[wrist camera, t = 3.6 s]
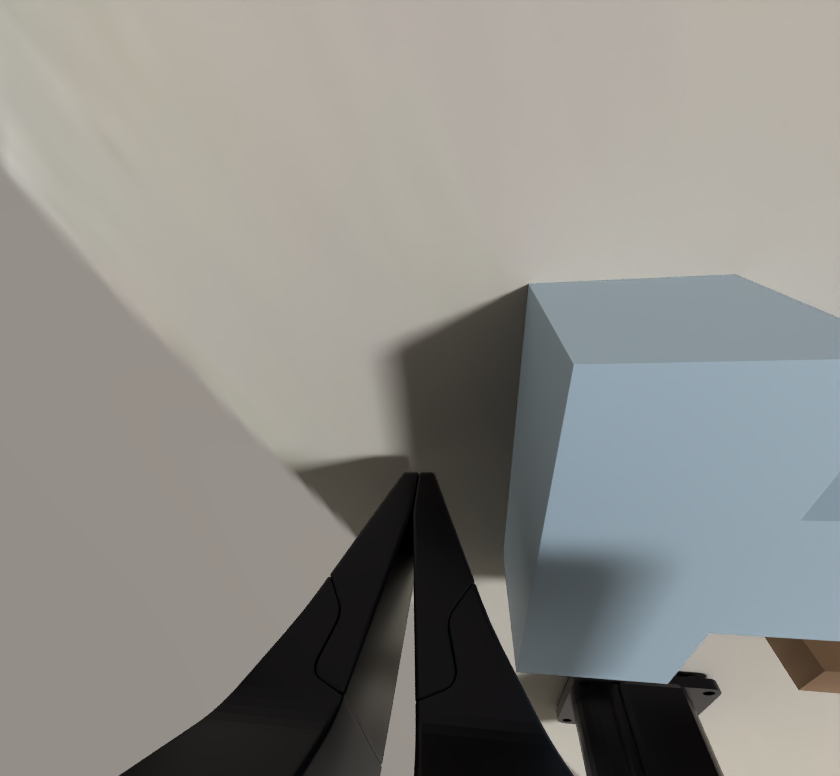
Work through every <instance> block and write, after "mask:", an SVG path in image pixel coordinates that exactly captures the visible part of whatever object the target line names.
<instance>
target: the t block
mask: <svg viewBox="0 0 840 776" xmlns="http://www.w3.org/2000/svg"><path fill="white" fill-rule="evenodd" d="M503 559H504V568H505V577H506V586H507V595H508V603H509V612H510V621H511V630H512V639H513V647H514V656H515V665H516V672H521V673H533V674H546V675H559V676H572V677H584V678H597V679H610V680H623V681H635V682H648V683H661V684H668V683H669V682H670V681H671V679H672V678H673V677H674V676H675V674H676V673H677V672H678V671H679V670H680V668H681V667H682V666H683V665H684V663H685V662H686V661H687V660H688V658H689V657H690V656H691V655H692V654H693V652H694V651H695V650H696V649H697V647H698V646H699V645H700V644H701V642H702V641H703V640H704V639H705V638H706V636H707V635H708V634H709V633H713V634H729V635H745V636H761V637H777V638H793V639H810V640H826V641H840V318H838V317H836V316H833V315H831V314H829V313H826V312H824V311H822V310H819V309H817V308H814V307H812V306H810V305H807V304H805V303H803V302H800V301H798V300H795V299H793V298H791V297H788V296H786V295H784V294H781V293H779V292H776V291H774V290H772V289H769V288H767V287H765V286H762V285H760V284H757V283H755V282H753V281H750V280H748V279H746V278H743V277H741V276H739V275H736V274H731V275H709V276H688V277H666V278H644V279H623V280H601V281H579V282H557V283H536V284H529V286H528V297H527V307H526V318H525V328H524V339H523V350H522V360H521V371H520V382H519V392H518V403H517V413H516V424H515V435H514V445H513V456H512V467H511V477H510V488H509V498H508V509H507V520H506V530H505V541H504V552H503Z"/></svg>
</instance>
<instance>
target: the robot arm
mask: <svg viewBox="0 0 840 776" xmlns="http://www.w3.org/2000/svg"><path fill="white" fill-rule="evenodd" d="M413 584H414V633H415V697H416V698H415V700H416V743H415V745H416V746H415V768H414V776H574V775H573V773H572V772H571V771H570V769H569V768H568V766H567V765H566V763H565V762H564V761H563V759H562V758H561V756H560V755H559V753H558V751H557V750H556V748H555V746H554V745H553V743H552V741H551V740H550V738H549V736H548V735H547V733H546V731H545V729H544V727H543V726H542V724H541V722H540V720H539V718H538V716H537V715H536V713H535V711H534V709H533V707H532V705H531V703H530V701H529V699H528V697H527V695H526V693H525V691H524V689H523V687H522V685H521V683H520V681H519V679H518V677H517V676H516V674H515V672H514V670H513V668H512V666H511V664H510V662H509V660H508V658H507V656H506V654H505V652H504V650H503V648H502V646H501V644H500V642H499V640H498V638H497V635H496V633H495V631H494V629H493V627H492V625H491V623H490V620H489V618H488V615H487V613H486V610H485V608H484V605H483V603H482V600H481V598H480V595H479V592H478V590H477V587H476V585H475V584H474V579H473V576H472V574H471V571H470V568H469V566H468V563H467V560H466V557H465V555H464V552H463V549H462V547H461V544H460V541H459V538H458V536H457V533H456V530H455V528H454V525H453V522H452V519H451V517H450V514H449V511H448V509H447V506H446V503H445V500H444V498H443V495H442V492H441V490H440V487H439V484H438V481H437V479H436V476H435V474H434V473H433V472H421V473H420V474H419V473H417V472H405V473H403V474H402V476H401V477H400V478H399V480H398V481H397V483H396V484H395V485H394V487H393V488H392V490H391V491H390V492H389V494H388V495H387V496H386V498H385V499H384V501H383V502H382V503H381V505H380V506H379V508H378V509H377V510H376V512H375V513H374V515H373V516H372V517H371V519H370V520H369V521H368V523H367V524H366V526H365V527H364V528H363V530H362V531H361V533H360V534H359V535H358V537H357V538H356V540H355V541H354V542H353V544H352V545H351V547H350V548H349V549H348V551H347V552H346V554H345V555H344V556H343V558H342V559H341V560H340V562H339V563H338V565H337V566H336V567H335V569H334V570H333V572H332V573H331V577H328V578H327V580H326V581H325V583H324V584H323V585H322V586H321V588H320V589H319V591H318V592H317V593H316V595H315V596H314V597H313V599H312V600H311V601H310V603H309V604H308V605H307V606H306V608H305V609H304V610H303V612H302V613H301V614H300V615H299V616H298V618H297V619H296V620H295V621H294V622H293V624H292V625H291V626H290V627H289V628H288V629H287V631H286V632H285V633H284V634H283V635H282V637H281V638H280V639H279V640H278V641H277V642H276V643H275V644H274V646H273V647H272V648H271V649H270V650H269V651H268V652H267V654H266V655H265V656H264V657H263V658H262V659H261V661H260V662H259V663H258V664H257V665H256V666H255V668H253V670H252V671H251V672H250V673H249V674H248V675H247V676H246V678H245V679H244V680H243V681H242V682H241V683H240V684H239V686H238V687H237V688H236V689H235V690H234V691H233V692H232V693H231V694H230V695H229V696H228V697H227V698H226V699H225V700H224V701H223V702H222V703H221V704H220V705H219V706H218V707H217V708H216V709H214V710H213V711H212V712H211V713H210V714H208V715H207V716H206V717H205V718H204V719H202V720H201V721H199V722H198V723H196V724H195V725H193V726H192V727H190V728H189V729H188V730H186V731H185V732H183V733H182V734H180V735H179V736H177V737H176V738H174V739H173V740H171V741H170V742H168V743H167V744H165V745H164V746H162V747H161V748H159V749H158V750H156V751H155V752H153V753H152V754H150V755H149V756H147V757H146V758H145V759H143V760H141V761H140V762H138V763H137V764H135V765H134V766H133V767H131V768H130V769H128V770H127V771H125V772H124V773H122V774H121V775H119V776H380V773H381V768H382V767H381V764H382V762H383V756H384V750H385V744H386V738H387V733H388V727H389V721H390V716H391V710H392V704H393V698H394V692H395V687H396V681H397V675H398V669H399V663H400V658H401V653H402V647H403V641H404V635H405V630H406V624H407V618H408V612H409V607H410V601H411V595H412V589H413ZM720 695H721V691H720V689H719V687H718V685H717V683H716V681H715V680H713V679H707V678H694V677H680V676H674V677H673V678H672V679H671V681H670V682H669V683H668V684H661V683H648V682H635V681H623V680H610V679H597V678H584V677H572V676H570V677H569V679H568V682H567V684H566V687H565V689H564V692H563V694H562V697H561V699H560V702H559V704H558V707H557V709H556V713H557V718H558V721H559V722H562V723H569V724H576V727H577V732H578V736H579V741H580V746H581V751H582V756H583V760H584V765H585V770H586V775H587V776H724V775H723V773H722V771H721V768H720V766H719V764H718V761H717V759H716V757H715V754H714V752H713V750H712V747H711V745H710V743H709V740H708V738H707V736H706V733H705V731H704V729H703V726H702V724H701V722H700V719H699V717H698V715H699V714H700V713H701V712H702V711H704V710H705V709H706V708H707V707H708V706H709V705H710V704H711V703H712V702H713V701H714V700H715V699H716V698H718V697H719V696H720Z"/></svg>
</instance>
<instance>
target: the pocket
mask: <svg viewBox="0 0 840 776" xmlns="http://www.w3.org/2000/svg"><path fill="white" fill-rule="evenodd" d="M765 638H766V640H767V641H768V643H769V644H770V646H771V647H772V649H773V651H774V652H775V654H776V655H777V657H778V658H779V660H780V661H781V663H782V665H783V666H784V668H785V669H786V671H787V672H788V674H789V676H790V677H791V679H792V680H793V682H794V683H795V685H796V686H797V688H798V690H804V691H817V692H830V693H840V641H826V640H810V639H793V638H777V637H765Z"/></svg>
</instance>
